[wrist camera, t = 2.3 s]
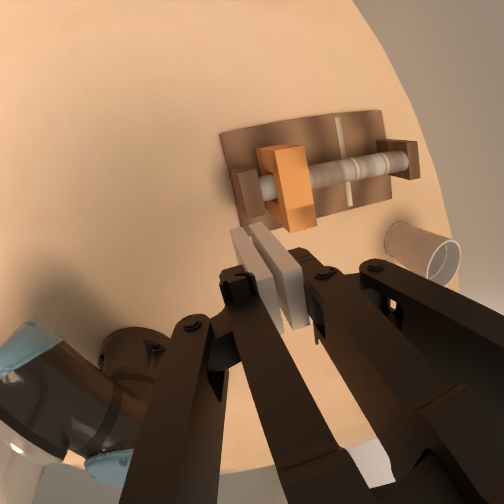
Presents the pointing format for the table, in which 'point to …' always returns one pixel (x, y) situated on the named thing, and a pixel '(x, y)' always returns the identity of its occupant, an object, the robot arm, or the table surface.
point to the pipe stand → (320, 163)
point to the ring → (289, 185)
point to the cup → (424, 252)
